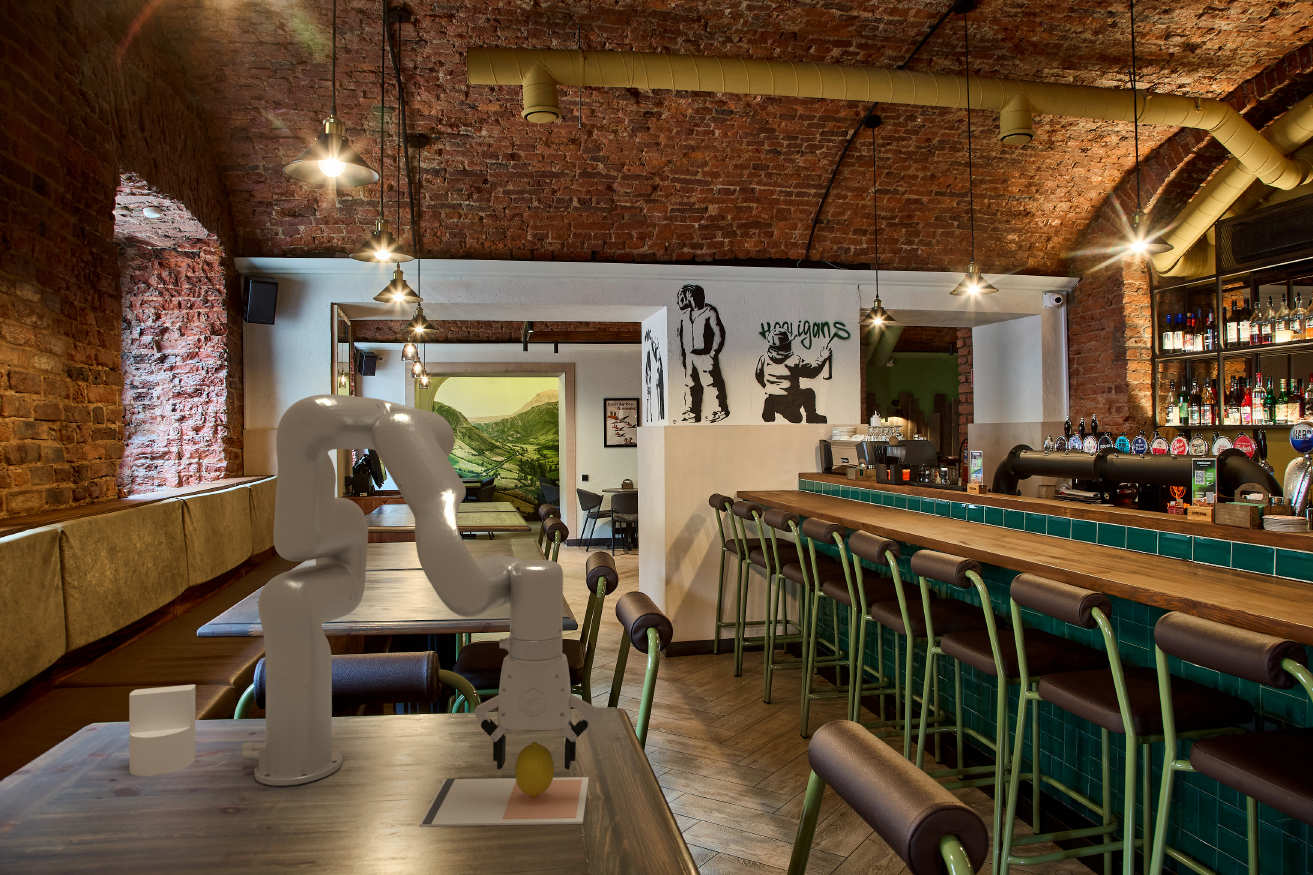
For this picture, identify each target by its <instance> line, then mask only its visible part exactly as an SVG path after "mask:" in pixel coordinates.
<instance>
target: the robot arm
mask: <svg viewBox="0 0 1313 875" xmlns="http://www.w3.org/2000/svg"><path fill="white" fill-rule="evenodd" d="M275 441H276V442H275V446H276V447H275V448H276V459H277V460H276V462H277V477H276V478H277V480H276V489H275V501H274V502H275V503H274V504H275V505H274V517H273V518H274V520H273V545H274V548H275V551H276V552H277V554H278V555H279V556H280V557H281V558H282V559H284V560H285V561H286V560H287V561H290V562H305V561H312V560H313V561H314V560H315V564H314V565H308V566H304V567H300V568H296V569H291V570H288V571H287V570H286V571H284V572H282V573H280V574H278V575H275V576H274V577H272V578H271V579H270V580H268V582H267V583H266V584H265V585H264V586H263V588H262V589H261V591H260V593H259V597H258V605H257V606H258V615H259V620H260V625H261V628H262V634H263V640H264V652H265V653H264V656H265V740H263V742H257V741H255V742H248V741H247V742H244V743H243V744H242V745H241V751H240V753H241V760H242V761H252V760H256V761H257V762H258V764H257V765H256V766H255V768H254V778H255V780H256V781H258V782H259V783H261V784H264V785H269V786H275V787H278V786H279V787H280V786H281V787H283V786H284V787H285V786H287V787H288V786H296V785H301V784H305V783H306V784H307V783H311V782H314V781H316V780H321V779H323V778H325V777H327V776H331V775H332V774H333V773H335V772H336V771H338V769H340V767H341V766H342V764H343V754H342V753H341V752H340V751H339V750H337V749H335V748H333V746H332V744H333V741H332V740H333V738H332V736H333V733H332V730H333V729H332V728H333V724H332V723H333V721H332V720H333V719H332V718H333V716H332V714H333V707H332V706H333V704H332V701H333V700H332V699H333V698H332V696H333V692H332V691H333V689H332V688H333V687H332V686H333V685H332V682H333V681H332V679H333V678H332V677H333V676H332V675H333V674H332V673H333V671H332V669H333V666H332V664H333V663H332V650H331V645H330V643H329V640H328V638H327V636H326V635H325V632H324V629H323V626H322V625H323V624H326V623H329V622H332V621H334V620H337V619H339V618H342V617H345V616H347V615H350V614H351V613H352V612H354V611H355V610H356V609H357V608H358V606H359V605H360V603H361V601H362V599H363V596H364V592H365V586H366V576H367V575H366V574H367V573H366V572H367V562H368V561H367V560H368V558H367V557H368V546H369V545H368V544H369V543H368V542H369V527H368V521H367V518H366V515H365V513H364V511H363V510H362V508H361V507H360V506H359V505H358V504H357V503H356V502H354V500H351V499H349V498H346V497H336V481H337V479H336V478H337V476H336V474H337V473H336V470H335V469H336V468H335V466H334V463H333V460H332V458H331V456H330V454H329V452H330V451H333V450H372V451H375V453H376V454H377V456H378V457H379V459H380V461H381V463H382V465H383V466H384V468H385V469H386V472H388V474H389V476H390V478H391V480H392V481H393V483H394V484H395V486H396V488H397V490H398V491H399V493H400V494H401V496H402V498H403V499H404V502H405V503H406V505H407V506H408V507H409V509H410V511H411V513H412V514H413V518H414V540H415V545H416V547H415V548H416V553H417V558H418V561H419V564H420V567H421V568H422V570H423V572H424V575H425V576H426V578H427V580H428V581H429V583H430V585H431V586H432V588H433V590H434V591H435V593H436V595H437V596H438V598H439V599H440V600H441V602H442V604H444V605H445V607H446V608H448V610H450V611H451V612H452V613H453V614H456V615H458V616H461V617H464V618H473V617H474V618H475V617H476V616H477V617H478V616H480V615H483V614H485V613H487V612H489V611H491V610H495V609H497V608H500V607H504V606H507V605H509V635H508V636H507V637H505V638H500V639H499V649H504V650H506V651H507V652H508V654H507V655H505V657H504V658H503V661H502V666H501V672H500V680H499V688H498V695H495V696H494V697H491V698H490V699H488V700H486V701H484V702H482V703H480V704H478V705H477V706H476V707H475V708H474V711H473V712H474V715H475V717H476V719H477V721H478V722H479V724H480V727H481V729H482V730H483V731H484V732H485V733H486V734H487V735H488V737H490V740H491V741H492V742H493V743H492V750H493V751H492V761H493V762H496V770H502V769H503V767H504V766H505V763H506V750H507V749H506V744H507V743H506V742H507V741H506V739H507V738H506V737H507V736H506V735H505V733H506V732H507V731H509V732H559V731H561V732H562V733H563V735H565V741H564V769H565V770H570V769H571V764H572V762H576V757H577V756H576V755H577V739H578V738H579V737H580V736H581V735H582V734H583V732H585V731H586V730H587V729H588V726H589V725H590V722H591V721H592V719H593V718H594V716H595V713H596V706H594V705H592V704H591V703H589V702H587V701H585V700H584V699H581V698H579V697H578V696H575V695H573V693H572V694H571V691H572V690H571V676H570V671H569V663H568V658H567V655H566V654H565V653H563V622H564V621H563V616H564V614H563V613H564V611H563V607H564V600H563V599H564V571H563V568H562V566H561V564H560V563H558V562H556V561H553V560H550V559H549V560H546V559H531V560H530V559H529V560H528V559H527V560H526V559H523V558H522V559H521V558H517V557H514V556H509V555H503V554H495V555H494V554H493V555H488V556H486V557H483V558H477V559H474V558H473V556H472V554H471V553H470V551H469V550H468V548H467V546H466V544H465V542H464V540H463V539H462V536H461V534H460V530H459V527H458V521H457V520H458V511H459V508H460V506H461V504H462V502H463V500H464V498H465V497H466V494H467V493H466V492H467V491H466V490H467V488H466V486H465V484H464V483H463V480H462V479H461V478H460V476H459V475H458V473H457V471H456V469H455V468H454V467H453V465H452V463H451V462H450V460H449V458H448V457H449V456H450V455H451V454H452V452H453V449H454V446H455V433H454V431H453V428H452V426H451V424H450V422H448V420H446V418H444V417H443V416H442V415H441V414H438V413H436V412H434V411H430V410H429V411H428V410H423V409H421V408H416V407H412V406H408V405H404V404H400V403H396V402H394V401H393V402H391V401H388V400H383V399H381V398H380V399H379V398H373V397H365V396H353V395H344V394H327V393H326V394H315V395H310V396H307V397H303V398H302V399H299V400H297V401H296V402H294V403H293V404H292V405H291V406H289V408H288V409H286V411H285V412H284V413H283V415H282V416H281V418H280V420H279V422H278V425H277V430H276V438H275ZM496 708H497V724H496V723H495V722H494V721H493V720H492V719H491V717H489V714H488V713H489V712H490V711H493V710H494V709H496ZM572 708H573V709H575V710H576V711H578V712H581V713H582V714H583V715H582V717H581V719H580V720H579V721H578V722H576V724H575V723H574V722H573V721H572V719H571V718H570V716H571V711H572Z"/></svg>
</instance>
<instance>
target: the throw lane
mask: <svg viewBox="0 0 1313 875" xmlns="http://www.w3.org/2000/svg"><path fill="white" fill-rule="evenodd" d="M589 781H590V777H589V776H582V777H581V776H578V777H577V776H575V777H570V776H569V777H567V776H566V777H553V780H552V782H551V784H550V786H549V788H548V789H547V790H546V791H545V792H543V793H542V794H539V795H538V796H537V798H532V797H531V796H530V795H528V794H525V793H524V792H523V791H521V789H520V788H519V787H518V785H517V782H516V777H513V778H509V777H508V778H507V777H505V778H501V777H500V778H446V779H445V778H444V779H443V781H442V783H441V784H440V787H439V789H438V790H437V792H436V793H435V795H434V797H433V799H432V801H431V802H430V804H429V806H428V807H427V809H426V812H425V813H424V815H423V817H422V819H421V820H420V822H419V823H418V826H419V827H458V826H459V827H466V826H468V827H469V826H472V827H473V826H519V825H520V826H522V825H523V826H525V825H527V826H528V825H532V826H533V825H538V826H539V825H583V824H584V817H585V810H586V802H587V795H588V788H589Z"/></svg>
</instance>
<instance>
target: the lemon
mask: <svg viewBox="0 0 1313 875" xmlns="http://www.w3.org/2000/svg"><path fill="white" fill-rule="evenodd" d="M554 766H555V765H554V761H553V756H552V753H551V752H550V750H549V749H548V748H547V747H546V746H545V745H543V744H539V743H538V742H537V741H533V742H532V743H531V744H528V745H526V746H525V747H524V748H523V749H521V751H520V752H519V754H518V756H517V758H516V762H515V769H514V776H515V777H514V778H516V782H517V785H518V787H519V788H520V789H521V791H523V792H524V793H525V794H528V795H530V796H531V797H532V798H537V796H538V795H539V794H542V793H543V792H545V791H546V790H547V789H548V788H549V786H550V784H551V782H552V780H553V778H554V774H555V768H554Z"/></svg>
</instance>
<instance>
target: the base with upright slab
mask: <svg viewBox="0 0 1313 875" xmlns="http://www.w3.org/2000/svg"><path fill="white" fill-rule="evenodd" d="M128 698H129V699H128V700H129V701H128V702H129V704H128V705H129V708H128V709H129V715H128V716H129V724H128V726H129V728H128V729H129V733H128V734H129V736H128V737H129V741H128V742H129V747H128V749H129V758H128V760H129V762H128V763H129V765H128V766H129V768H128V769H129V770H128V771H129V774H131V775H133V776H136V777H137V776H138V777H155V776H161V775H166V774H169V773H173V772H177V771H179V770H182V769H184V768H185V769H186V767H188V766H190V765H192V764H193V763H194V762H195V760H196V684H187V685H186V684H184V685H173V686H163V687H162V686H161V687H151V688H149V687H148V688H140V689H134V690H133V691H131V692H130V693H129V696H128Z"/></svg>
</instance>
